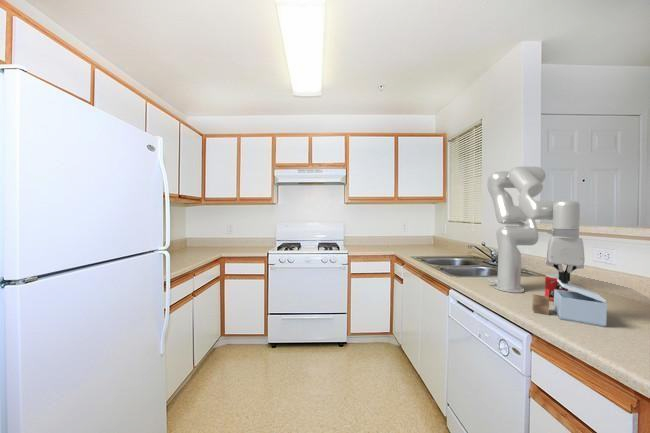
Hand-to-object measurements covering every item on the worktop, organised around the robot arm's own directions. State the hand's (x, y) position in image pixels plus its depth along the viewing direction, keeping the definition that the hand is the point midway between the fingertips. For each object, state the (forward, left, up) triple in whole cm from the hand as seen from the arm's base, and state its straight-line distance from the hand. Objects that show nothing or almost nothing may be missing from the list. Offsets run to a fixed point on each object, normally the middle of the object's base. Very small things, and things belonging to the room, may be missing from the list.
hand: (564, 282), depth 102 cm
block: (-7, -1, -13) cm, 14 cm away
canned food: (+1, +21, -13) cm, 25 cm away
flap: (+4, 0, -2) cm, 5 cm away
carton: (+4, 0, -12) cm, 13 cm away
